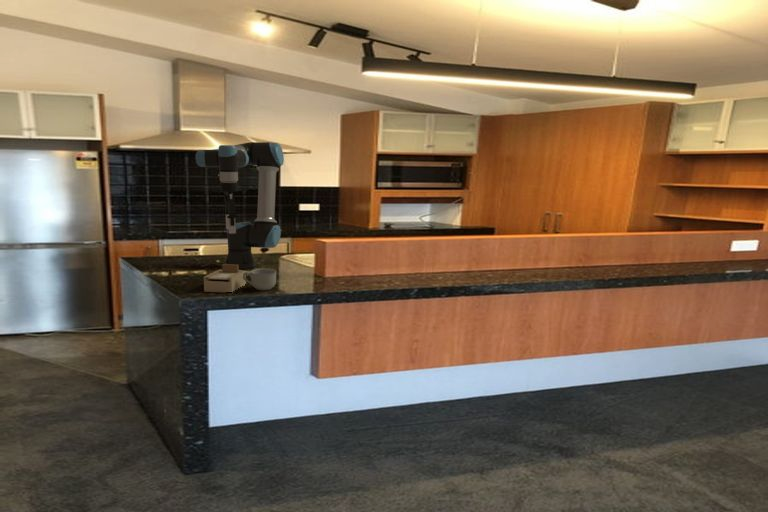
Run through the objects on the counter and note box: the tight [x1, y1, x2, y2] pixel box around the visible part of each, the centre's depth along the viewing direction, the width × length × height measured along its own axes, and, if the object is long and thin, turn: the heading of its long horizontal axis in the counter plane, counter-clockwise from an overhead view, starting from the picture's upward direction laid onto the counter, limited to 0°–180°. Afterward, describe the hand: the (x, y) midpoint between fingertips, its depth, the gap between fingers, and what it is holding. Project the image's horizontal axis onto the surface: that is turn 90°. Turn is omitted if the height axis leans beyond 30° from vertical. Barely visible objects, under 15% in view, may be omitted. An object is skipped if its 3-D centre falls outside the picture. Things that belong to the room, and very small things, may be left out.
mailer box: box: [203, 269, 247, 293], centre depth 227 cm, size 16×12×6 cm
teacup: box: [243, 268, 277, 291], centre depth 226 cm, size 14×11×8 cm
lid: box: [207, 263, 240, 280], centre depth 226 cm, size 14×10×4 cm
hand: (231, 231), depth 229 cm, fingers open, 13 cm apart
